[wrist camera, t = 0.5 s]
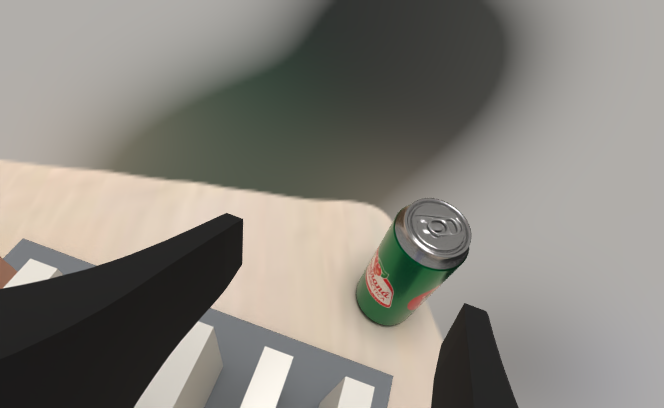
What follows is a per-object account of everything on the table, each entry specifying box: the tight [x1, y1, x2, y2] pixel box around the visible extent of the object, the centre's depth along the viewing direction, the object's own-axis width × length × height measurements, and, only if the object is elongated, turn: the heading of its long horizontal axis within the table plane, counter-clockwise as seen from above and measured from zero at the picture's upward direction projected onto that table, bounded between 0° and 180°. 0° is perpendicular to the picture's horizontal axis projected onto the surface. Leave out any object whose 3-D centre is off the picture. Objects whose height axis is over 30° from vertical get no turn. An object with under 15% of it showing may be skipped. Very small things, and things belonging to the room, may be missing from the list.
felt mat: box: [3, 239, 393, 408], centre depth 26 cm, size 12×31×1 cm, turn 73°
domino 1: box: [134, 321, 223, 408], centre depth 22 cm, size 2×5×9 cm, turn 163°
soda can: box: [356, 198, 471, 325], centre depth 28 cm, size 5×5×12 cm
